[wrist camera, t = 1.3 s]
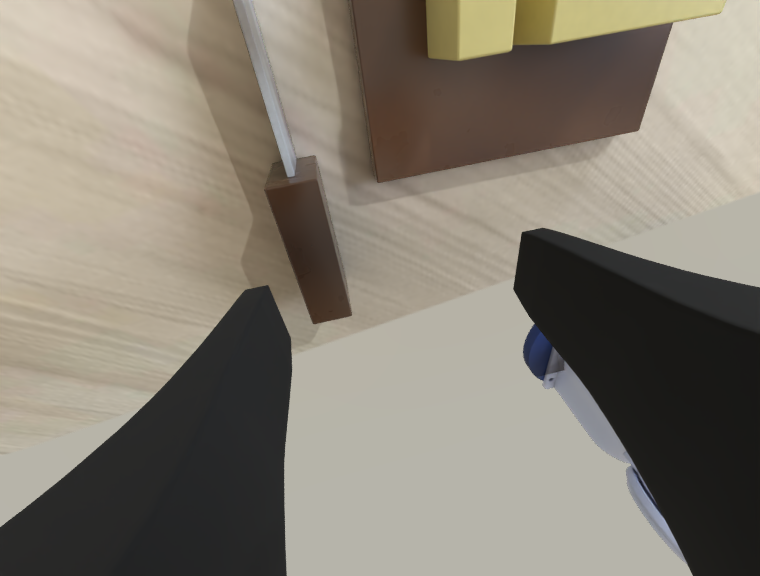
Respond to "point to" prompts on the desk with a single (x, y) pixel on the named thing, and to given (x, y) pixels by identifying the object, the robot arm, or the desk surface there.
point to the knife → (298, 196)
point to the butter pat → (469, 28)
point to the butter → (599, 17)
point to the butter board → (492, 92)
